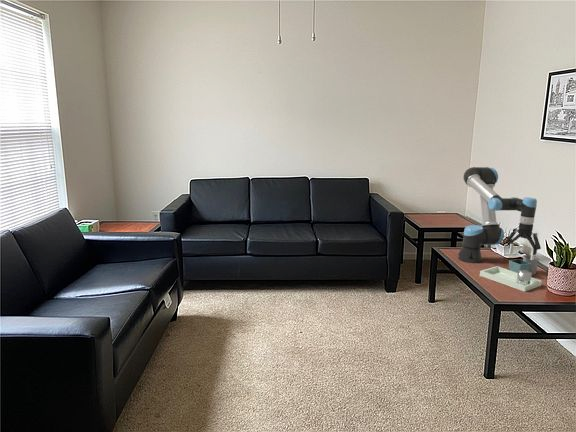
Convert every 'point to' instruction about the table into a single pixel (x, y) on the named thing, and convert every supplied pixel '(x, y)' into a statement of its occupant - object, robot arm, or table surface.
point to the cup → (533, 263)
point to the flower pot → (518, 265)
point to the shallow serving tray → (508, 278)
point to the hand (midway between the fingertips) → (521, 256)
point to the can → (523, 277)
